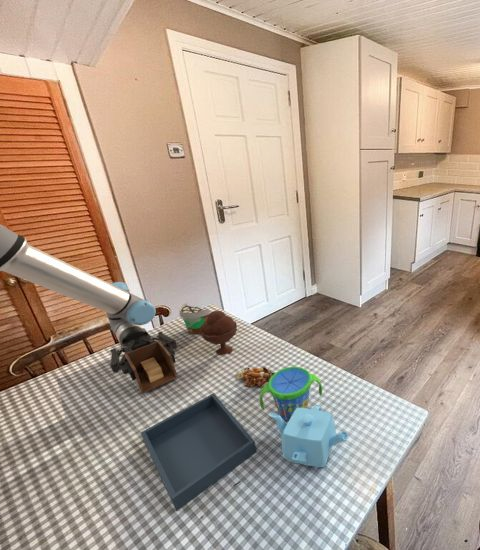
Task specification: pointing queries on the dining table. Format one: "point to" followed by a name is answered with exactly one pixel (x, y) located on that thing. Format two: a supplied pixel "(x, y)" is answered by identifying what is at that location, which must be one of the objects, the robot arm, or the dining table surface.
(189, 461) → the tray
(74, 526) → the dining table surface
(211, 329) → the ice cream bowl
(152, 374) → the block
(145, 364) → the block
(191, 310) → the food container
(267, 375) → the pastry
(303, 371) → the snack cup
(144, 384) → the brown open box
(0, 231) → the robot arm
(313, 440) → the teapot
